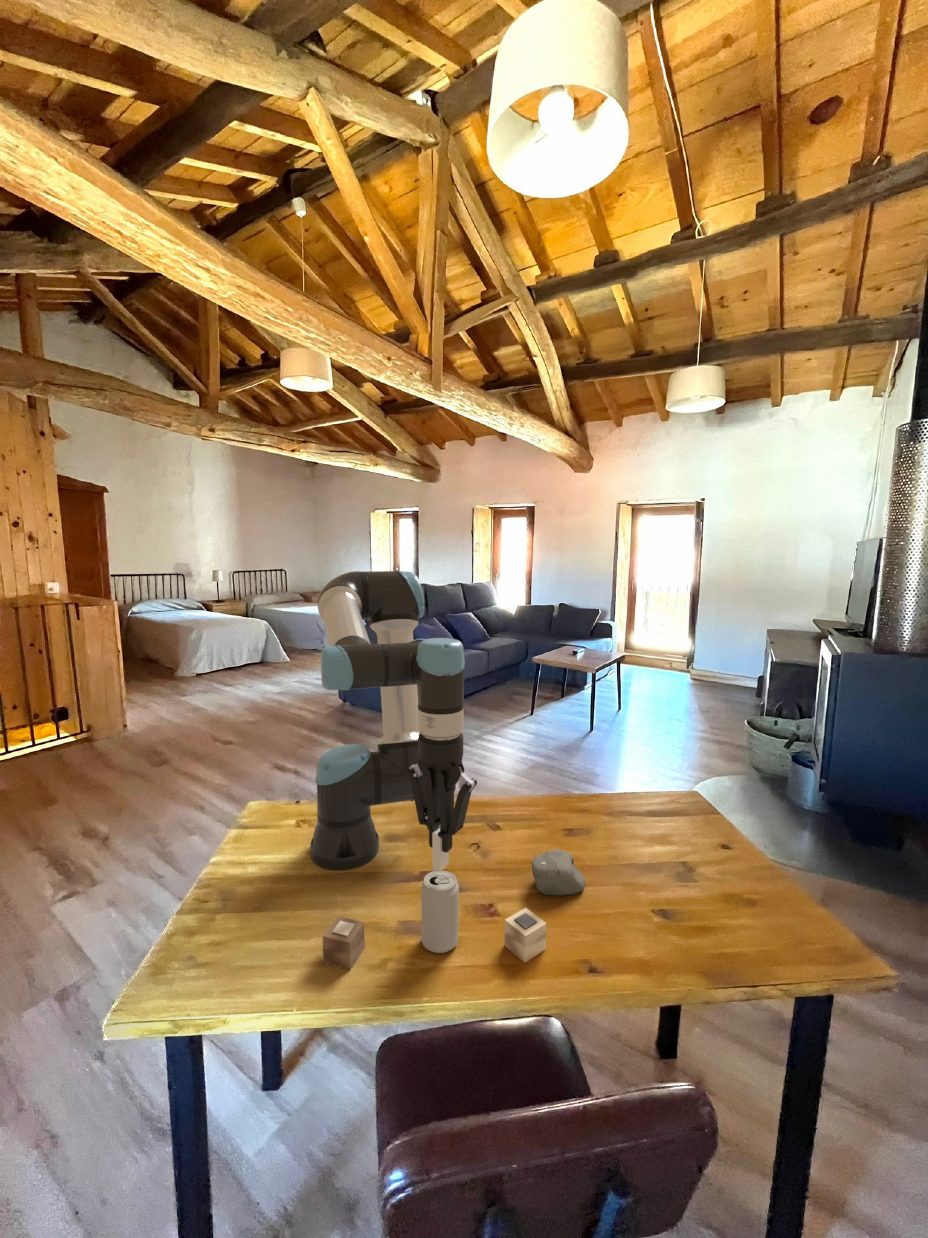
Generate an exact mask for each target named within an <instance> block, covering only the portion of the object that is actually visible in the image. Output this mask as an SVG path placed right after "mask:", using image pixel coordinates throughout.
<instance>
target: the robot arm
mask: <svg viewBox="0 0 928 1238" xmlns="http://www.w3.org/2000/svg"><path fill="white" fill-rule="evenodd" d="M317 610H318V611H317V612H318V614H319V617H320V618H321V619H322V621H323V622H324V625H325V631H326V636H327V642H328V646H324V647H323V648H322V649H321V651H320V675H321V677H320V678H321V685H322V687H323V688H324V690H327V691H344V692H345V691H350V690H358V689H372V688H380V698H381V699H380V701H381V714H382V718H381V719H382V728H383V729H382V731H383V735H382V736H381V738H380V739H379V740H378V741H377V751H371V750H370V748H369V747H368V746H366V745H365V744H361V743H360V744H358V743H351V744H344V745H340V746H337V747H334V748H332V749H330V750H327V751H326V752H325V753H323V754H322V755H320V757H319V758H318V760H317V763H316V769H315V771H316V773H315V778H314V779H315V784H316V805H317V806H316V812H317V822H316V825H315V827H314V831H313V835H312V836H313V837H312V838H311V841H310V846H309V852H310V855H309V856H310V859H311V860H312V862H313V863H314V864H315V865H316V866H318V867H320V868H323V869H325V870H326V869H328V870H333V871H335V870H336V871H340V870H342V871H343V870H350V869H355V868H357V867H360V866H362V865H365V864H367V863H368V862H370V861H371V860H372V859H374V858H375V857H376V856H377V854H378V852H379V851H380V849H379V848H380V839H379V838H380V837H379V835H378V832H377V831H376V828H375V823H374V821H373V818H372V815H371V812H372V811H371V807H372V806H380V805H387V804H393V803H401V802H402V803H403V802H409V801H410V802H414V804H415V809H416V814H417V819H418V820H417V821H418V823H419V824H420V825H422V826H423V825H424V826H426V828H427V830H428V845H429V847H430V848H431V849H432V853H431V854H432V857H431V858H432V860H431V861H432V862H431V863H432V868H431V870H433V871H439V872H440V871H441V870H443V869H445V867H447V866H448V865H449V861H450V860H449V856H450V855H449V852H450V851H451V850H452V848H453V836H454V835H456V834H457V833H458V832H459V831H461V830H462V829H463V828H464V824H465V821H466V817H467V811H468V809H469V803H470V799H471V795H472V792H473V790H474V789H475V787H477V785H478V781H477V779H476V778H474V777H473V778H470V776H468V775H467V774H466V773H465V766H464V763H463V756H464V734H463V732H464V731H465V730H464V729H465V728H464V726H465V722H464V720H465V719H464V718H465V717H464V716H465V715H464V711H465V710H464V708H465V707H464V704H465V703H464V700H465V698H464V697H465V696H464V694H465V693H464V692H465V691H464V690H465V686H464V685H465V666H466V665H465V664H466V661H465V653H464V652H465V651H464V645H463V643H462V642H461V641H460V640H458V639H456V638H454V639H452V638H450V637H433V638H416V639H414V630H415V629H416V628H417V626H419V619H421V618H423V616H424V614H425V597H424V590H423V587H422V584H421V580H420V579H419V577H418V576H417V574H415V573H414V572H411V571H402V570H397V569H396V570H384V571H380V570H379V571H378V570H375V571H373V570H371V571H368V570H367V571H360V570H358V571H357V570H356V571H355V570H354V571H350V572H346V573H345V572H344V573H342V574H340V575H338V576H336V577H334V578H333V579H331V580H330V581H329V582H327V584H326V585H325V586H324V587H323V588H322V589H321V591H320V592H319V595H318V598H317ZM364 620H369V627H370V629H371V630H373V632H374V633H375V634H376V637H377V643H374V644H373V643H371V642H370V639H369V636H368V632H367V629H366V626H365V623H364ZM458 782H459V784H458V787H457V783H458ZM456 787H457V788H458V790H459V791H458V793H457V795H456V799H455V791H456Z"/></svg>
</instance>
